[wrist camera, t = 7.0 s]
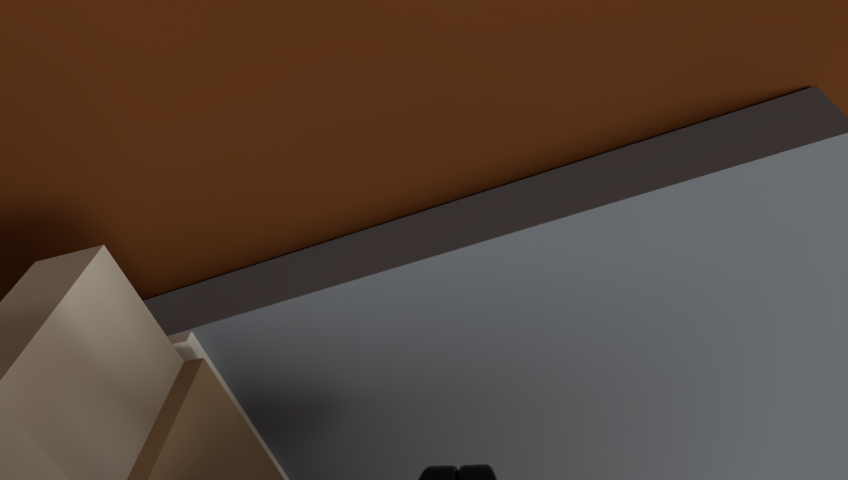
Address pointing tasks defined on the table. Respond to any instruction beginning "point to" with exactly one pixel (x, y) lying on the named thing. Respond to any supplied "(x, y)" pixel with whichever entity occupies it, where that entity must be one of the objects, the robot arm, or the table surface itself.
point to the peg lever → (108, 386)
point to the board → (564, 320)
